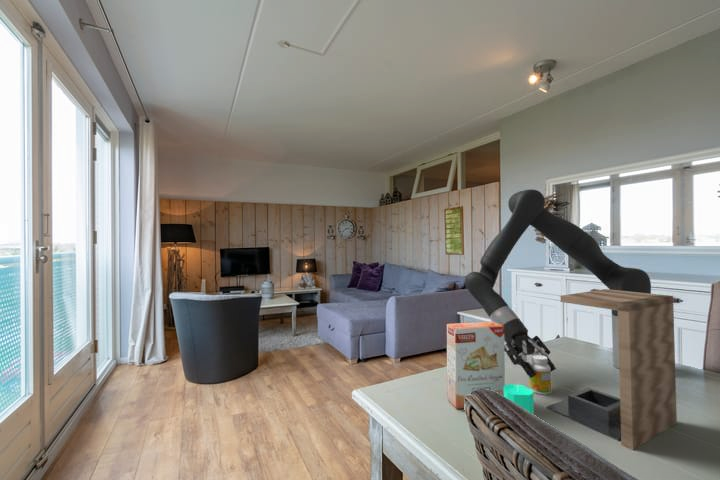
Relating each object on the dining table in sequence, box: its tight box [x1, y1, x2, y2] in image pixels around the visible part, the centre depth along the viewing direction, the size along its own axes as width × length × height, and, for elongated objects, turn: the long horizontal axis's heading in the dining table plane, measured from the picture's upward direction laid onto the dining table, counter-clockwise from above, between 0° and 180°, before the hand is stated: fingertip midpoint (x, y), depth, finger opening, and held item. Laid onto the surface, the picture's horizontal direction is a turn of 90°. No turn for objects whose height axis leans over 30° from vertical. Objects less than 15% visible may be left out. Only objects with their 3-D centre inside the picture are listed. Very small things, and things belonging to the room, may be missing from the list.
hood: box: [559, 288, 678, 451], centre depth 78 cm, size 20×14×30 cm
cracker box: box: [446, 321, 506, 410], centre depth 88 cm, size 14×6×21 cm, turn 99°
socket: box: [545, 387, 621, 442], centre depth 81 cm, size 16×16×4 cm
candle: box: [504, 383, 535, 415], centre depth 72 cm, size 6×6×12 cm
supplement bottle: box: [529, 354, 552, 396], centre depth 94 cm, size 5×5×10 cm
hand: (543, 373), depth 93 cm, fingers open, 8 cm apart
